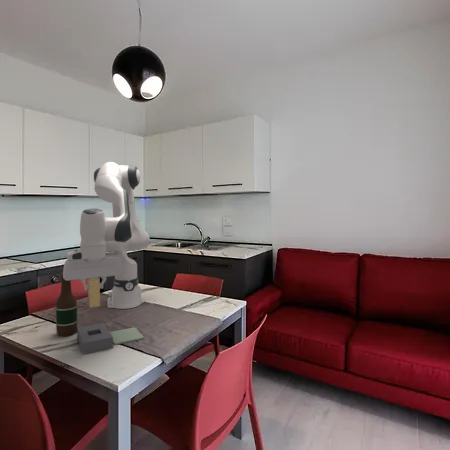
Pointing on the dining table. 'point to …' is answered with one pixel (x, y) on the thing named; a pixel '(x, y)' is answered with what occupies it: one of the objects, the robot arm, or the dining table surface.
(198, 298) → the dining table surface
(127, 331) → the green mat
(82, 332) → the grey slotted block
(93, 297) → the brass peg
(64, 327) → the beer bottle
